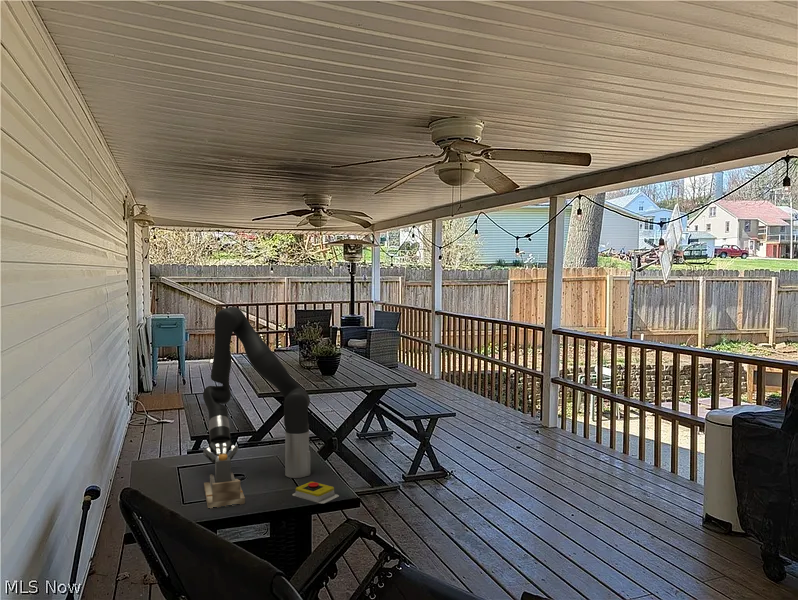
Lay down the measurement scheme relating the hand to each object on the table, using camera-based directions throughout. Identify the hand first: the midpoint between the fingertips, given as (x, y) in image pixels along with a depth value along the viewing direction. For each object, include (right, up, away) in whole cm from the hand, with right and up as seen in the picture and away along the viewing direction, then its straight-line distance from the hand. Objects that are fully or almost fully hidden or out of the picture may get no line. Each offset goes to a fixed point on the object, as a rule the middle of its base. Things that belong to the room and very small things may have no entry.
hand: (222, 472), depth 207 cm
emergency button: (+34, -8, -4) cm, 36 cm away
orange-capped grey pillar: (+1, -5, -2) cm, 5 cm away
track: (+2, -7, -5) cm, 9 cm away
